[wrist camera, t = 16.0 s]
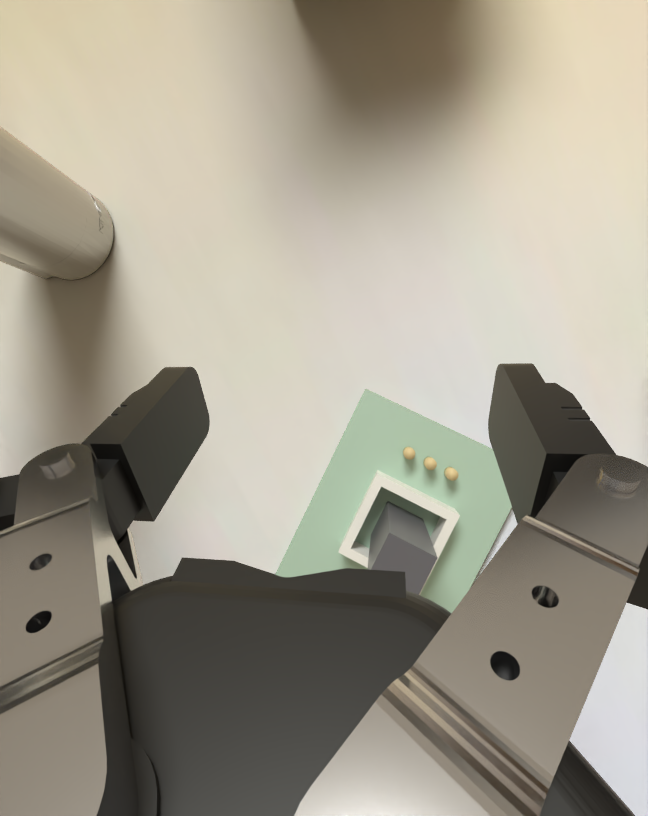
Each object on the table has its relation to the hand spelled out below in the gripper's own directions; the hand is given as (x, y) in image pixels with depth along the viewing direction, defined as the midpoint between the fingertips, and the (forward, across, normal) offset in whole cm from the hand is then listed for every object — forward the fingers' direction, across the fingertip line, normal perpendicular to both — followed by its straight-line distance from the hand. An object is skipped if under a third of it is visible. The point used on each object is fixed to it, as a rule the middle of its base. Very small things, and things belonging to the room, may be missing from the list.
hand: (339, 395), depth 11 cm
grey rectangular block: (+17, -2, +24) cm, 29 cm away
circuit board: (+18, -2, +24) cm, 30 cm away
